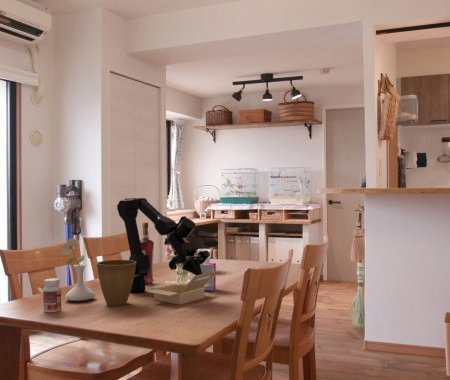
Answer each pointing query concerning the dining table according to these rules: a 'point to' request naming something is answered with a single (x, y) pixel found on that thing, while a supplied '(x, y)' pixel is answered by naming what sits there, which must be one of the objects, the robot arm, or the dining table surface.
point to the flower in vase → (79, 290)
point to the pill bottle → (52, 295)
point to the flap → (198, 281)
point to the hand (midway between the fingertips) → (201, 276)
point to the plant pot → (116, 280)
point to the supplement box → (207, 269)
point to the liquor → (147, 252)
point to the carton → (176, 293)
